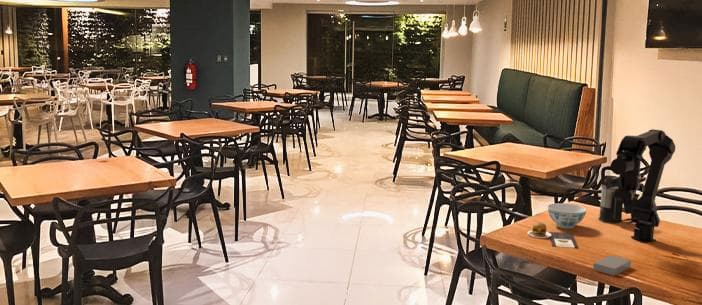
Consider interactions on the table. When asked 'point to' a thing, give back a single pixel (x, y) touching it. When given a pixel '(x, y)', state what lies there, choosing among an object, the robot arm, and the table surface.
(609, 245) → the table surface
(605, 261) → the ceramic tile
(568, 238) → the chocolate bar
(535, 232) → the hamburger
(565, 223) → the chinaware
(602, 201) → the milk frother
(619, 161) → the robot arm
